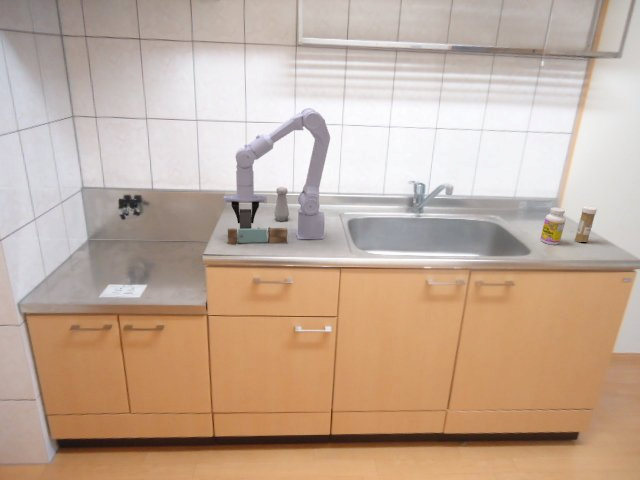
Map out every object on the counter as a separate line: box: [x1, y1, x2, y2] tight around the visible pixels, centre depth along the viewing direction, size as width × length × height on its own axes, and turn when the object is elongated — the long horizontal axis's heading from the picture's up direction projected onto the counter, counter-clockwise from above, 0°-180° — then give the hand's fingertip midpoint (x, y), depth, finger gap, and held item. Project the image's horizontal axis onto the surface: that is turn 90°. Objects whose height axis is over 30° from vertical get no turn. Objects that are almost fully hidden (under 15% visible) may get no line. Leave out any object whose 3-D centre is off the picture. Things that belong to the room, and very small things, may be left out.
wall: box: [227, 226, 288, 245], centre depth 154 cm, size 20×2×5 cm, turn 99°
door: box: [237, 227, 268, 244], centre depth 154 cm, size 10×2×5 cm, turn 99°
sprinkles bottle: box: [574, 205, 598, 243], centre depth 168 cm, size 5×5×13 cm
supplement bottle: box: [540, 207, 566, 246], centre depth 166 cm, size 7×7×13 cm
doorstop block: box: [239, 208, 253, 229], centre depth 157 cm, size 4×4×6 cm
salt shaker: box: [273, 186, 290, 222], centre depth 176 cm, size 6×6×13 cm
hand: (245, 222), depth 158 cm, fingers closed on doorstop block, 4 cm apart
